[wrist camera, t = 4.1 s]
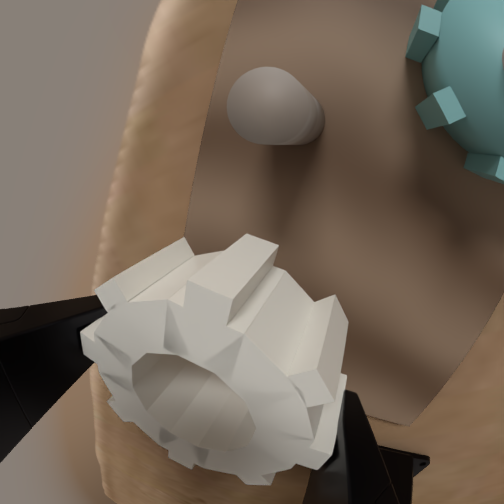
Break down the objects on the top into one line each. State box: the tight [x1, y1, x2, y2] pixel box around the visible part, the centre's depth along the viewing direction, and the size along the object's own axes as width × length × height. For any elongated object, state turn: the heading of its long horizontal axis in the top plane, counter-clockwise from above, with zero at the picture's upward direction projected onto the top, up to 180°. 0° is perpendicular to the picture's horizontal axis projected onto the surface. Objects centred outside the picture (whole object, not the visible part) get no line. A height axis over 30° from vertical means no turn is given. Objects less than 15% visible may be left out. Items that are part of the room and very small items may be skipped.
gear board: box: [184, 0, 504, 426], centre depth 9 cm, size 20×14×5 cm
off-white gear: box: [80, 234, 348, 485], centre depth 8 cm, size 7×7×3 cm
